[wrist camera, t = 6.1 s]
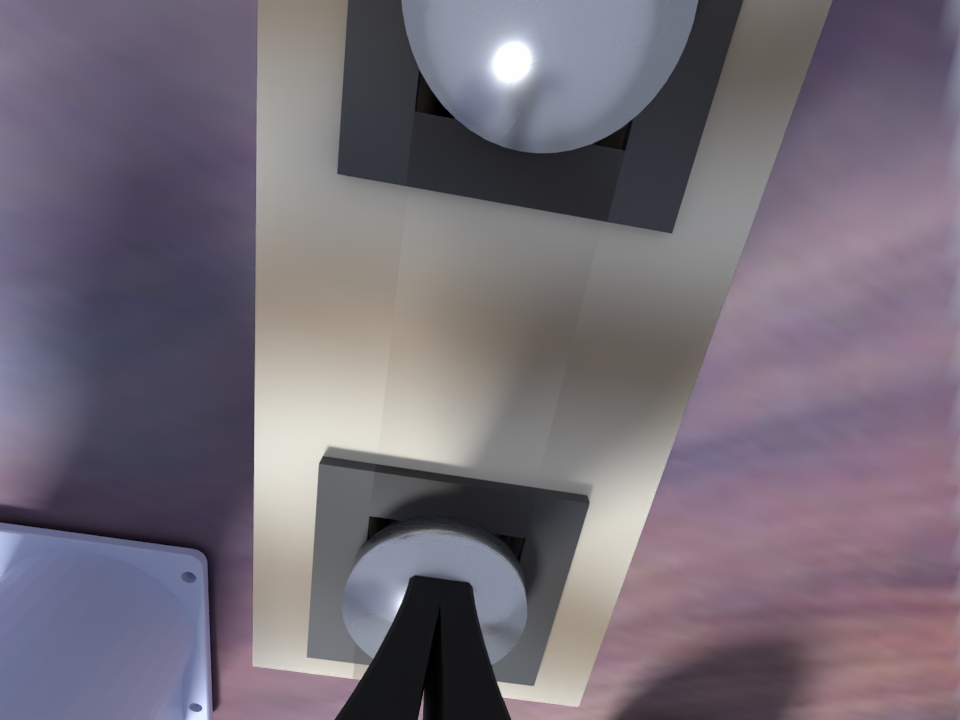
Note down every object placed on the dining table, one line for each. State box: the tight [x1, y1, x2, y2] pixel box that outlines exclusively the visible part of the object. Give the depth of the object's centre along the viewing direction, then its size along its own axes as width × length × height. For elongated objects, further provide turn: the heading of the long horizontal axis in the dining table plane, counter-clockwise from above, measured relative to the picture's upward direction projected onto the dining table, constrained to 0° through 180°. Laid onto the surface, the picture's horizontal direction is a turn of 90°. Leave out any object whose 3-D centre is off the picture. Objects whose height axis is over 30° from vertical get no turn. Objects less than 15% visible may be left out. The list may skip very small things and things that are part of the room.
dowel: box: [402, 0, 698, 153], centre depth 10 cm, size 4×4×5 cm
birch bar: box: [253, 0, 833, 707], centre depth 13 cm, size 20×9×5 cm, turn 170°
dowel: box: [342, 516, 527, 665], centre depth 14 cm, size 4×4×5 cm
